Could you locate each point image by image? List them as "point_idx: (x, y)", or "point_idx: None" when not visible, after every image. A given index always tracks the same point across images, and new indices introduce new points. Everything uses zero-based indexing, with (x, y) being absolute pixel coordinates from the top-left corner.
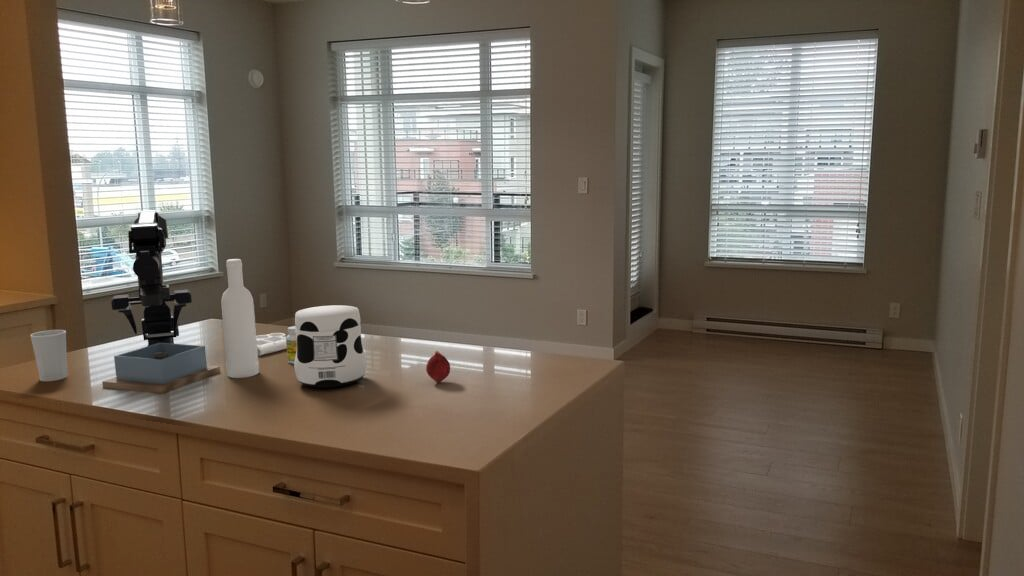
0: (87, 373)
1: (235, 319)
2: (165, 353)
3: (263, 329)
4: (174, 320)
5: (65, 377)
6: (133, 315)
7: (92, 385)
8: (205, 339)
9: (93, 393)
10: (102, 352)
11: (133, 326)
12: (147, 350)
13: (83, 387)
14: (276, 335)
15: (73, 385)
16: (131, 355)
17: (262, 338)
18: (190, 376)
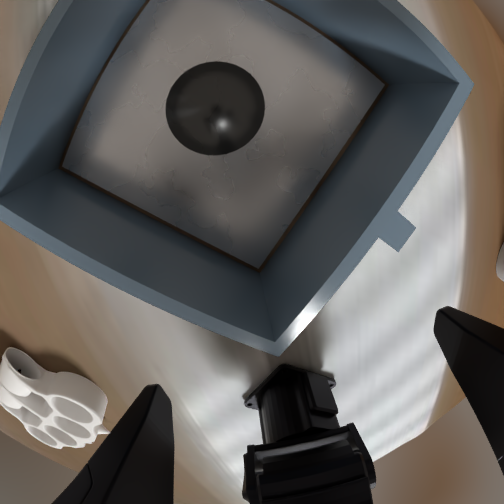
0: (466, 279)
1: None
2: (173, 84)
3: None
4: (123, 447)
5: (502, 247)
6: (493, 445)
7: (457, 126)
8: (225, 475)
9: (431, 18)
10: (411, 420)
11: (492, 332)
12: (332, 254)
13: (473, 114)
14: (52, 441)
15: (493, 154)
16: (404, 151)
17: (70, 438)
18: None
